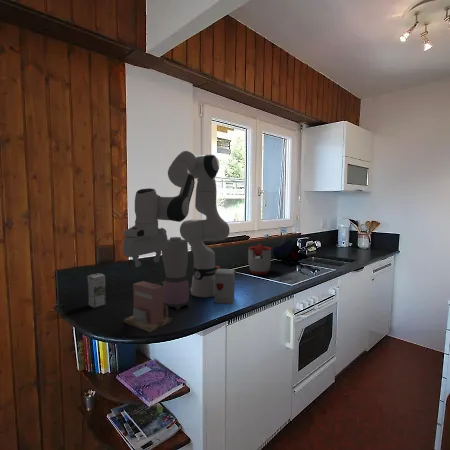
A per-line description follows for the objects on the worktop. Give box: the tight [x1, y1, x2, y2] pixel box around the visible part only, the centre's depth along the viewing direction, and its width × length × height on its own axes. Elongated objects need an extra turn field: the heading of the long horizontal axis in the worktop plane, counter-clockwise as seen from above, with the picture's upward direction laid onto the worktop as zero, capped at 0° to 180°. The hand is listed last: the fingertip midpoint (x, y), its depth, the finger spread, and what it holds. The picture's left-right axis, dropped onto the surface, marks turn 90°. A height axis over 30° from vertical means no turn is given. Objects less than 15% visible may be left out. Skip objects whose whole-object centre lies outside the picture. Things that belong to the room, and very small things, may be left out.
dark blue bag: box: [272, 239, 309, 267], centre depth 226 cm, size 21×26×30 cm
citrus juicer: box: [247, 243, 272, 276], centre depth 201 cm, size 16×17×20 cm
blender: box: [161, 236, 190, 310], centre depth 142 cm, size 16×12×32 cm
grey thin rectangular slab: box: [132, 307, 148, 325], centre depth 119 cm, size 1×7×5 cm, turn 56°
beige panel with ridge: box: [123, 305, 173, 333], centre depth 122 cm, size 12×15×6 cm
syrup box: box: [87, 273, 107, 309], centre depth 140 cm, size 6×6×14 cm
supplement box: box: [214, 268, 236, 305], centre depth 148 cm, size 9×9×15 cm
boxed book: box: [132, 280, 164, 324], centre depth 122 cm, size 5×12×14 cm, turn 56°
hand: (147, 264), depth 120 cm, fingers open, 8 cm apart
